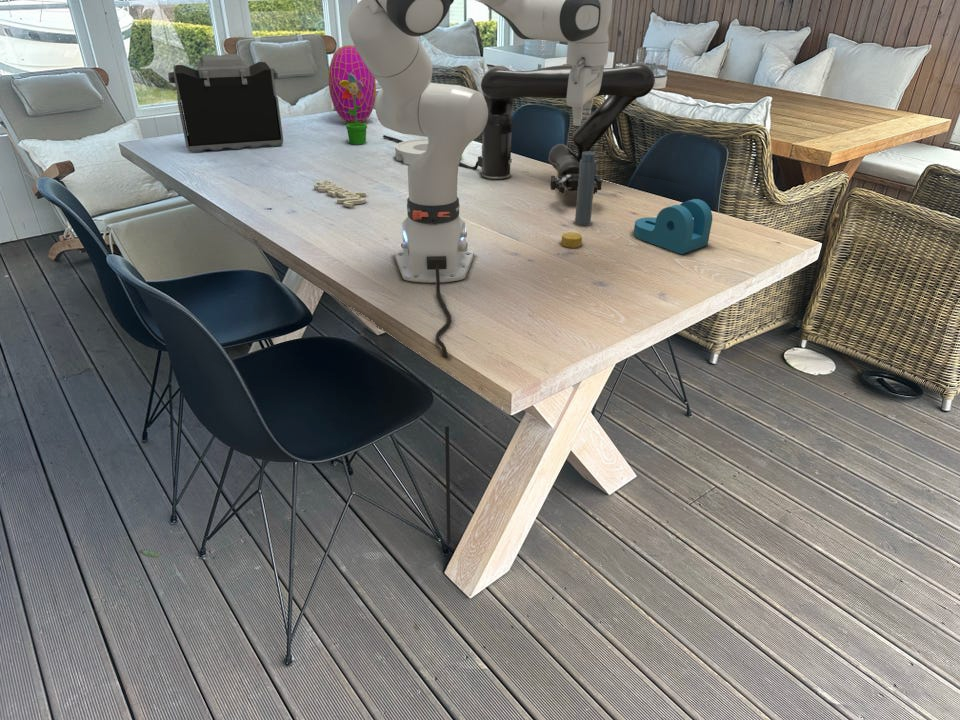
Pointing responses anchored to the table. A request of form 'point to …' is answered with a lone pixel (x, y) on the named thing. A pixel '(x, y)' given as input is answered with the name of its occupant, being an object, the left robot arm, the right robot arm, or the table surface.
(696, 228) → the camera mount
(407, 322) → the table surface
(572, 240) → the lid
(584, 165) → the grey long cylinder
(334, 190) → the decorative sign
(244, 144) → the electronic device
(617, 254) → the table surface
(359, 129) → the potted flower
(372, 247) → the table surface
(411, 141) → the ashtray
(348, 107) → the decorative egg
